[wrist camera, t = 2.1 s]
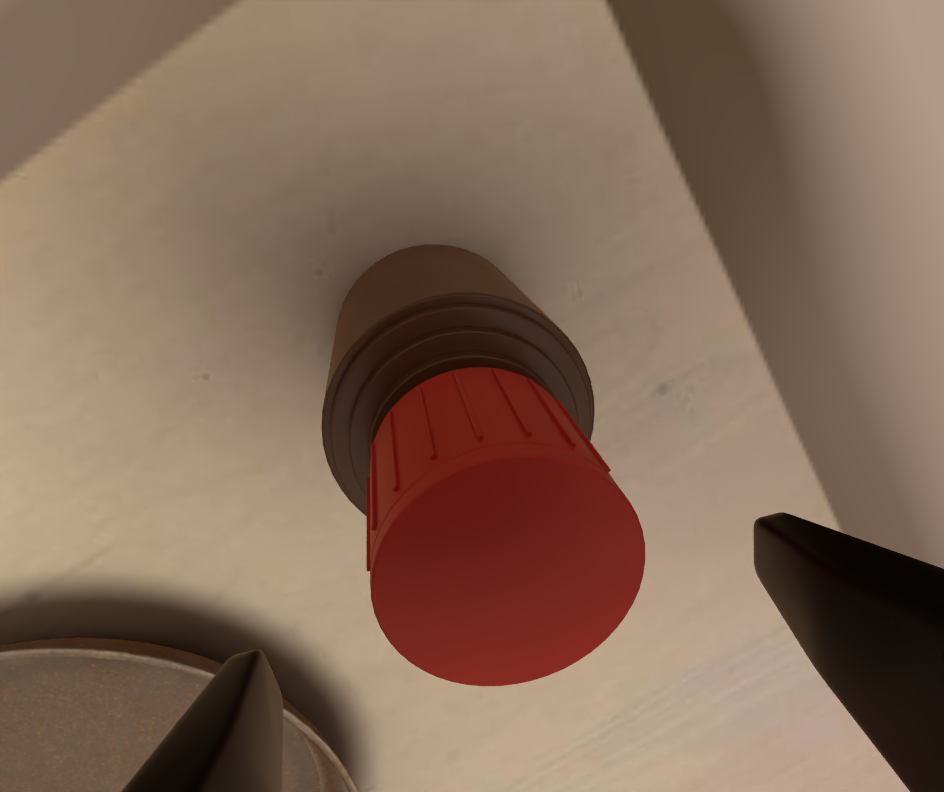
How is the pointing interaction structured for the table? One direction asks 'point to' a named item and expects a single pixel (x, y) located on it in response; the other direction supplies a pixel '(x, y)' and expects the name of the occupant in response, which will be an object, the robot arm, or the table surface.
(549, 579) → the cap
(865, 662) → the robot arm
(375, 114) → the table surface
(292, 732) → the plant saucer
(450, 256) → the bottle
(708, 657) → the table surface
